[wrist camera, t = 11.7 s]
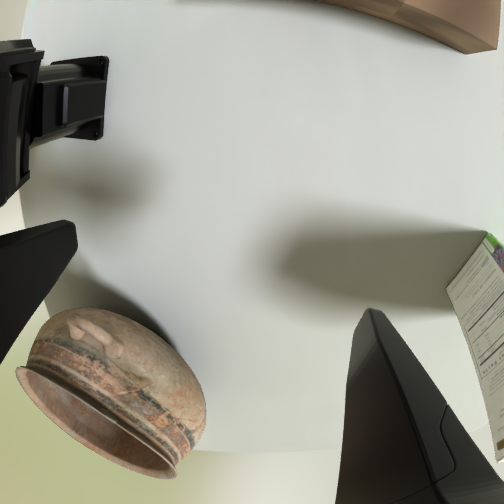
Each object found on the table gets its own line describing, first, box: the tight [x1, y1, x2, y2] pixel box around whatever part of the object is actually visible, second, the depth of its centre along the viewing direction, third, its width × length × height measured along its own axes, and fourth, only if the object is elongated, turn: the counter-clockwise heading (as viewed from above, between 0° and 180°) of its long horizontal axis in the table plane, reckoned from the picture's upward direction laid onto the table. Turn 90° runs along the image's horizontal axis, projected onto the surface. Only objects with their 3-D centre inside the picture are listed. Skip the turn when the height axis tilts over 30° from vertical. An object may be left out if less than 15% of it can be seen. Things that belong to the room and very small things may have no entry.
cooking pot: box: [15, 307, 206, 479], centre depth 26 cm, size 25×19×12 cm
